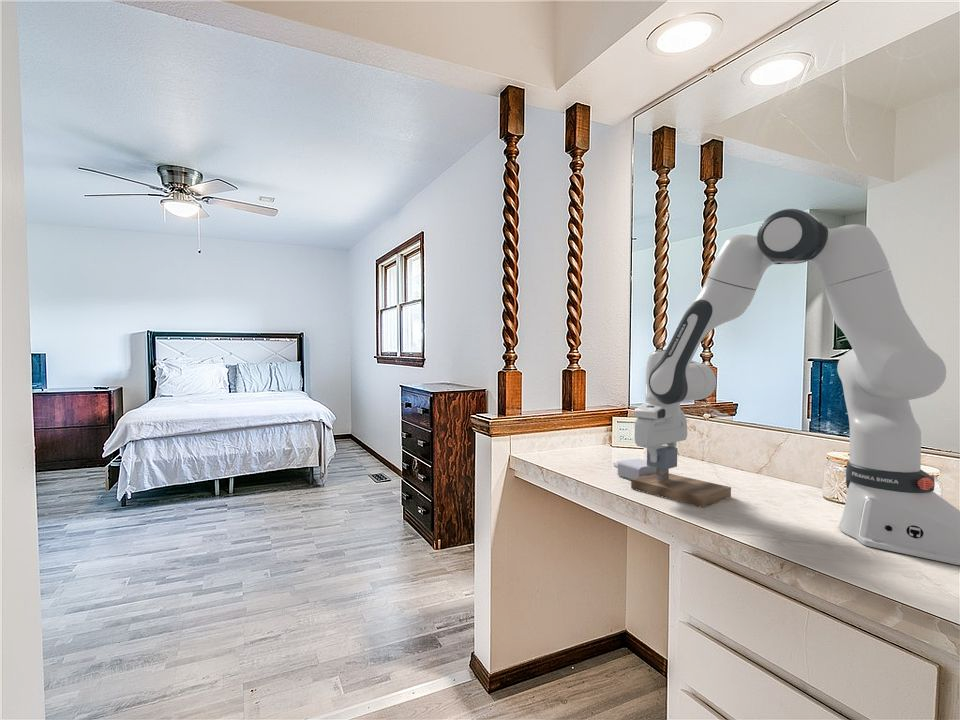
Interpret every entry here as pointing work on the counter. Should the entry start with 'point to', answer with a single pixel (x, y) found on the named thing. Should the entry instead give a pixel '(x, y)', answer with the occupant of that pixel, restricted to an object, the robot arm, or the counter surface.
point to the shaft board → (681, 488)
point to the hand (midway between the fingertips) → (662, 460)
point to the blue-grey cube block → (664, 457)
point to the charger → (633, 468)
